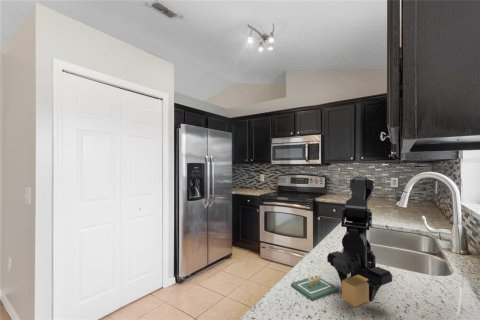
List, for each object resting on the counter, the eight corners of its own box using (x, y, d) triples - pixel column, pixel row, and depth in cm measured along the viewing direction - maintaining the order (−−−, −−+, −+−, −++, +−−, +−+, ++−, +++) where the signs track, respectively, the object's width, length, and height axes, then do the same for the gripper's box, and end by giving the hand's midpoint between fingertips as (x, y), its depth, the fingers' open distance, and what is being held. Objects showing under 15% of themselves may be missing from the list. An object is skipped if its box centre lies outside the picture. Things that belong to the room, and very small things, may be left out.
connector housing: (358, 293, 77) (358, 274, 77) (371, 299, 73) (371, 280, 73) (342, 299, 73) (342, 280, 73) (354, 307, 69) (354, 286, 69)
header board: (315, 278, 86) (315, 267, 87) (338, 291, 78) (338, 279, 78) (291, 286, 81) (291, 274, 81) (312, 301, 72) (312, 288, 72)
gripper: (315, 239, 78) (315, 286, 77) (369, 259, 61) (369, 319, 61) (338, 234, 83) (338, 278, 83) (393, 251, 66) (393, 306, 66)
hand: (356, 293), depth 73 cm, fingers open, 9 cm apart
